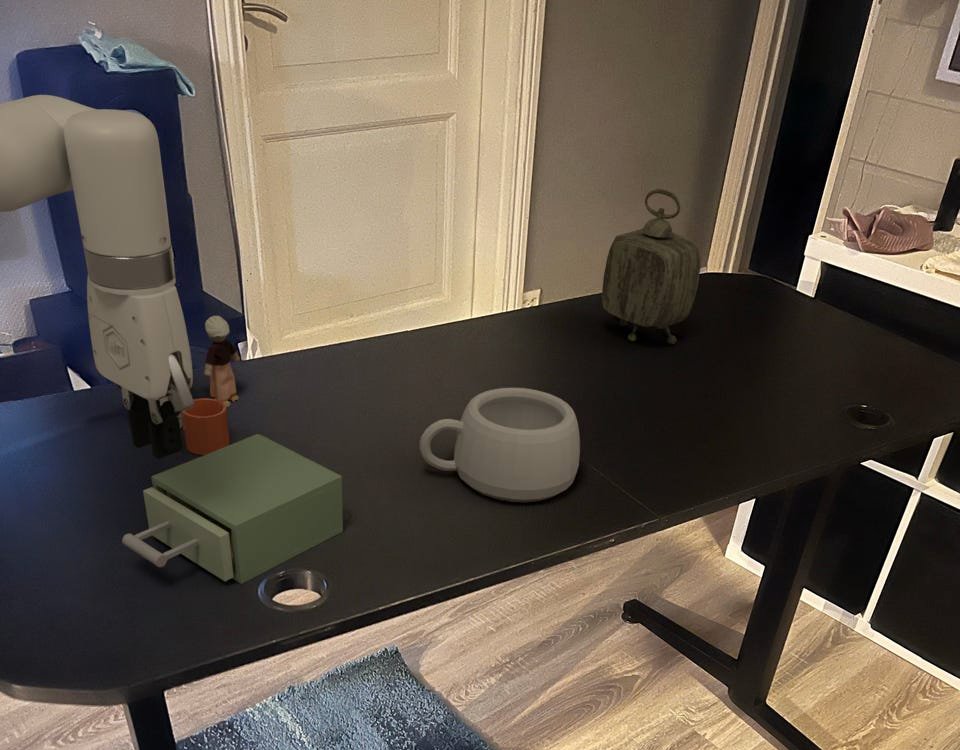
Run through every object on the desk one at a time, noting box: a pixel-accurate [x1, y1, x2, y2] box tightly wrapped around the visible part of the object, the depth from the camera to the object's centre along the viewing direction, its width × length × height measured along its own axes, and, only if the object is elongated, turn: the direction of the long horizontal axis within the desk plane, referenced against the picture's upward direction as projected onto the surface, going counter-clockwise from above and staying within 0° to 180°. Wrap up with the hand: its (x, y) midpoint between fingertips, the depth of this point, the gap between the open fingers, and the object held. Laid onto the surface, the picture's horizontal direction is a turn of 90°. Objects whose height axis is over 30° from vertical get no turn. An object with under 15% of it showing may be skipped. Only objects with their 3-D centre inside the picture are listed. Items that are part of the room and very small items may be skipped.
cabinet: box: [151, 433, 344, 585], centre depth 113 cm, size 16×15×8 cm
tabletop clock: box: [601, 188, 702, 345], centre depth 166 cm, size 14×9×25 cm, turn 46°
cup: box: [181, 397, 231, 456], centre depth 130 cm, size 6×6×6 cm
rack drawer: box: [121, 486, 235, 582], centre depth 110 cm, size 20×13×6 cm, turn 141°
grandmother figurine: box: [203, 315, 241, 408], centre depth 138 cm, size 8×4×13 cm, turn 168°
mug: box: [419, 387, 581, 503], centre depth 127 cm, size 21×17×10 cm
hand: (158, 447), depth 99 cm, fingers closed
